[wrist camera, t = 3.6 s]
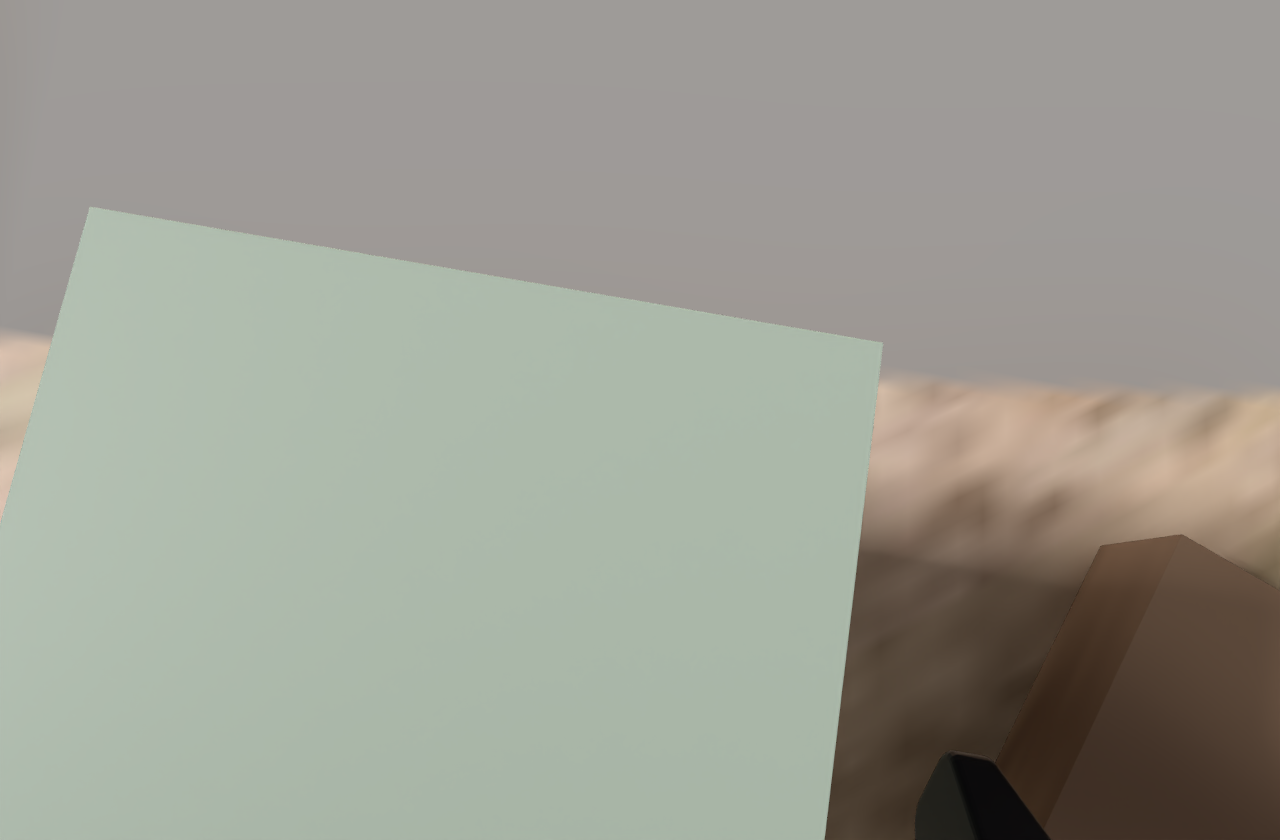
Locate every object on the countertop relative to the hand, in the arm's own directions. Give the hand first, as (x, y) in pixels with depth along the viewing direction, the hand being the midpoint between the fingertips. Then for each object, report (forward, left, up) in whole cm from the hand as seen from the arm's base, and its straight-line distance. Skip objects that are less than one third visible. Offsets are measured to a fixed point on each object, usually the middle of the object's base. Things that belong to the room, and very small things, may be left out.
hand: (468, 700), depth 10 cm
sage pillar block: (0, 0, -8) cm, 8 cm away
